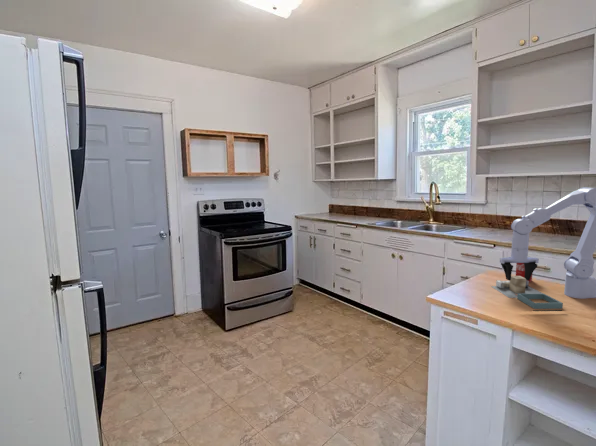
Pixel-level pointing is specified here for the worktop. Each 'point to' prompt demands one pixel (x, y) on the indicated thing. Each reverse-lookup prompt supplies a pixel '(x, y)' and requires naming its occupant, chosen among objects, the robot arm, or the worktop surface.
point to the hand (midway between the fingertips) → (517, 279)
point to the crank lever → (507, 284)
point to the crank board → (513, 294)
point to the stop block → (517, 284)
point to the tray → (551, 305)
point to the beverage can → (521, 271)
